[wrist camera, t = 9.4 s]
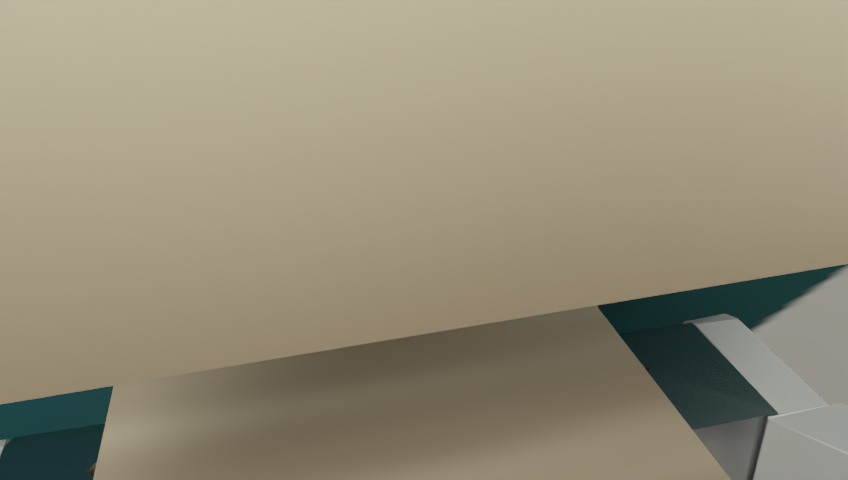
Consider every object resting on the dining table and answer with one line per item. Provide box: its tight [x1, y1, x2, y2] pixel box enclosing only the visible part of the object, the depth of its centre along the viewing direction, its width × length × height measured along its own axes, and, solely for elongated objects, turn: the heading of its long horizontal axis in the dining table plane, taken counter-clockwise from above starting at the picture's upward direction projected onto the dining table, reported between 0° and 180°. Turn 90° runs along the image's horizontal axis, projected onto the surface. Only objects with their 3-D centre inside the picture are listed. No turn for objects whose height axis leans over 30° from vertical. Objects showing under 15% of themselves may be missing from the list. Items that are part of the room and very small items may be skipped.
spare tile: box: [93, 306, 731, 480], centre depth 9 cm, size 2×5×10 cm, turn 93°
